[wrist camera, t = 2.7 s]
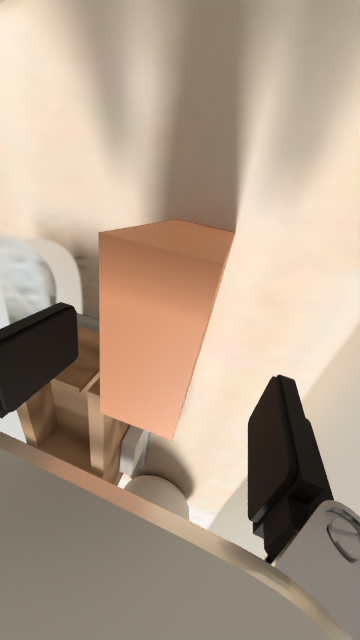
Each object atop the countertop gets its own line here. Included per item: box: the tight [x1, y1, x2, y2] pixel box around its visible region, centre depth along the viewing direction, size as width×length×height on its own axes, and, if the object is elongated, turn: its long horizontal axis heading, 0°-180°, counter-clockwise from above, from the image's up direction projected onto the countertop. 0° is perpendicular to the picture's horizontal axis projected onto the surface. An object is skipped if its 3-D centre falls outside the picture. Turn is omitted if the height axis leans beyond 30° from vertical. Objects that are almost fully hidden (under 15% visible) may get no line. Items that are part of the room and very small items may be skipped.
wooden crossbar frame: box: [16, 325, 130, 486], centre depth 21 cm, size 22×20×8 cm
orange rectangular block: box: [99, 219, 235, 440], centre depth 12 cm, size 9×4×9 cm, turn 170°
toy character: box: [124, 475, 189, 521], centre depth 27 cm, size 10×10×12 cm
